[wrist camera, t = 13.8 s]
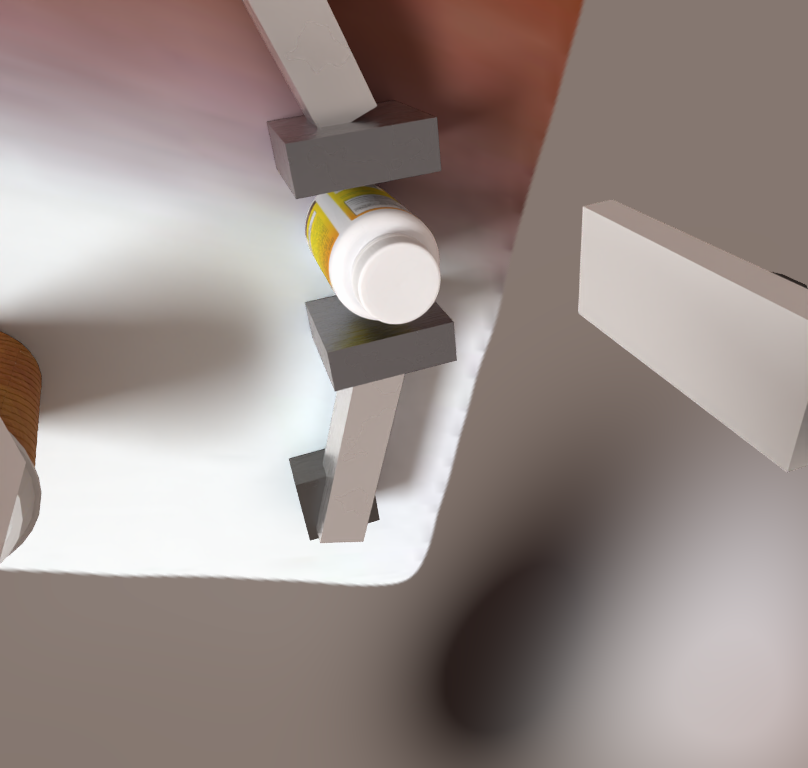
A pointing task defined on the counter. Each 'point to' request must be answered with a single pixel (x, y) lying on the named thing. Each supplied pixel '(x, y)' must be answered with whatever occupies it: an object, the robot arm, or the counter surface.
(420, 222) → the supplement bottle
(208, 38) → the counter surface
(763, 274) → the robot arm
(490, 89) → the counter surface
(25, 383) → the disposable coffee cup
